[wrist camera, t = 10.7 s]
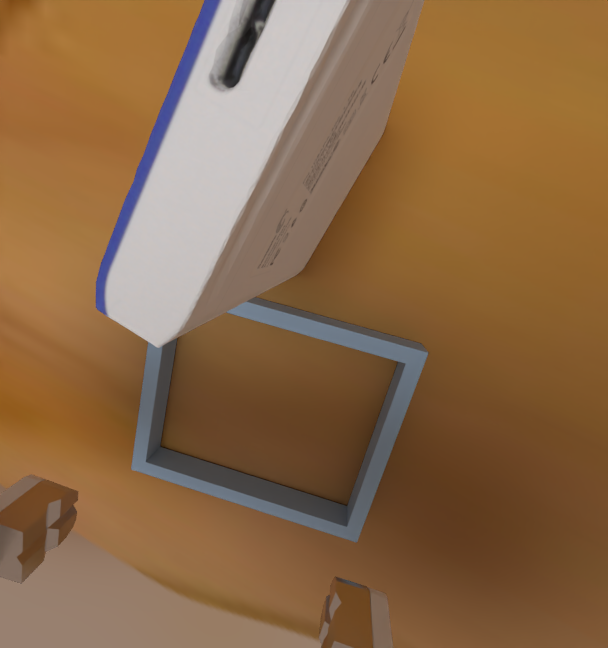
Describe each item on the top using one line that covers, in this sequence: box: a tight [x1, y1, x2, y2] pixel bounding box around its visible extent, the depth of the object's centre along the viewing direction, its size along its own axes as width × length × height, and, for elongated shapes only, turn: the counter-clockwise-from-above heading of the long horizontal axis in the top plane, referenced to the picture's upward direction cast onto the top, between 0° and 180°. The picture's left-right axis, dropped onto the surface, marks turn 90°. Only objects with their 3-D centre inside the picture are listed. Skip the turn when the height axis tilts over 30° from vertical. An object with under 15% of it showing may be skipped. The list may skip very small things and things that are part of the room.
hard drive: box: [96, 0, 424, 348], centre depth 10 cm, size 2×8×12 cm, turn 149°
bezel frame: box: [131, 297, 428, 543], centre depth 18 cm, size 14×12×2 cm
